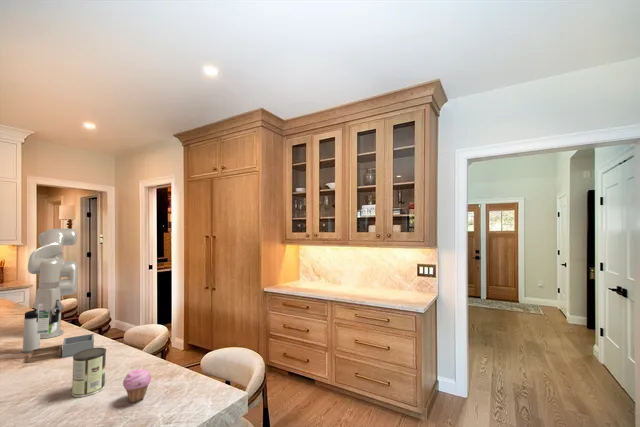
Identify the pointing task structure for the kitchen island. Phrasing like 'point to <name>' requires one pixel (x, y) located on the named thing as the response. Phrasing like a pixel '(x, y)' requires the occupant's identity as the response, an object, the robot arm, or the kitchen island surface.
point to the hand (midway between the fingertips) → (47, 321)
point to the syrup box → (45, 321)
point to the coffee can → (88, 372)
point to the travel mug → (30, 332)
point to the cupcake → (137, 384)
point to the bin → (77, 344)
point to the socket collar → (45, 356)
